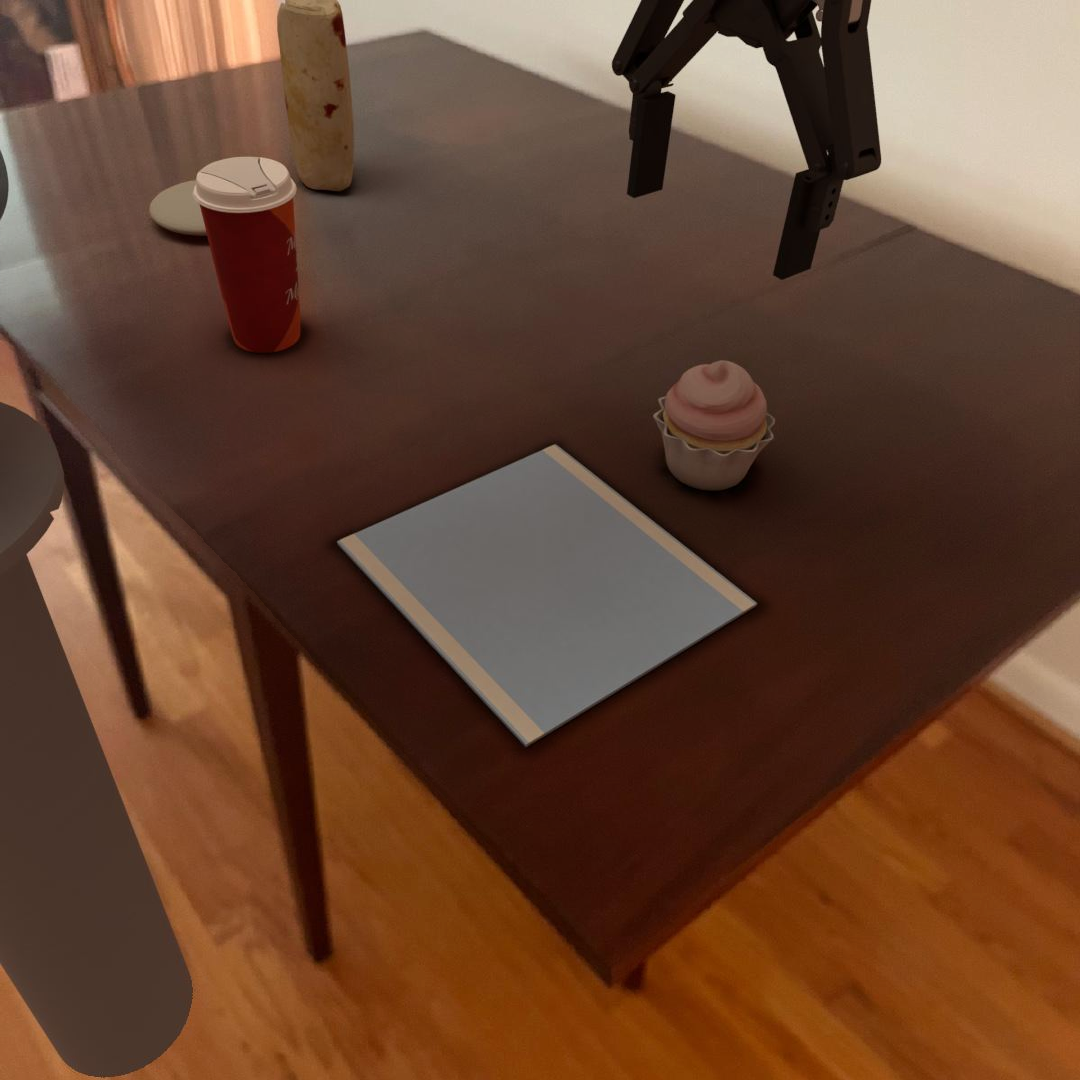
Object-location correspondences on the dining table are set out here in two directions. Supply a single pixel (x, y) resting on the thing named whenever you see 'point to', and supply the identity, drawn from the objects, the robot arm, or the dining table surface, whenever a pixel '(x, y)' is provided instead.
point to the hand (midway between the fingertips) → (714, 230)
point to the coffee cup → (253, 248)
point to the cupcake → (713, 425)
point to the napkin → (544, 588)
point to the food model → (317, 91)
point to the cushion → (178, 210)
